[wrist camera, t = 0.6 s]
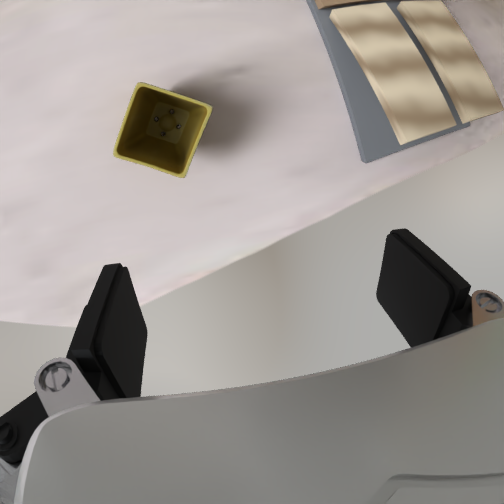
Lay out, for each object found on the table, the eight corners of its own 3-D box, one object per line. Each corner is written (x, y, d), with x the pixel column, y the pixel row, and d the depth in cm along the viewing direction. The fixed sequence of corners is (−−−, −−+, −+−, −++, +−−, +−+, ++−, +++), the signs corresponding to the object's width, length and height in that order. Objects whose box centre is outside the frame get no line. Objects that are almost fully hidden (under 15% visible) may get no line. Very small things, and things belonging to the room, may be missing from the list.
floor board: (301, -11, 30) (309, -18, 27) (424, -21, 29) (437, -24, 26) (361, 161, 45) (372, 166, 42) (464, 124, 43) (477, 128, 40)
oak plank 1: (329, 17, 32) (332, 9, 30) (381, 9, 31) (385, 2, 29) (400, 145, 34) (407, 142, 32) (448, 128, 33) (456, 125, 31)
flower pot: (211, 103, 38) (214, 106, 30) (187, 162, 41) (184, 180, 33) (150, 82, 35) (137, 80, 27) (128, 142, 38) (111, 156, 30)
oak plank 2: (396, 8, 31) (401, 1, 29) (435, 6, 31) (441, 0, 29) (462, 123, 33) (470, 120, 31) (496, 113, 33) (504, 110, 31)
